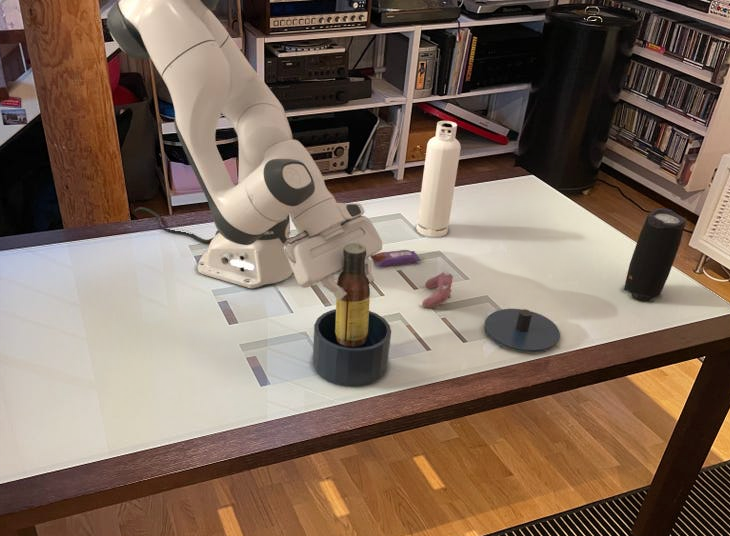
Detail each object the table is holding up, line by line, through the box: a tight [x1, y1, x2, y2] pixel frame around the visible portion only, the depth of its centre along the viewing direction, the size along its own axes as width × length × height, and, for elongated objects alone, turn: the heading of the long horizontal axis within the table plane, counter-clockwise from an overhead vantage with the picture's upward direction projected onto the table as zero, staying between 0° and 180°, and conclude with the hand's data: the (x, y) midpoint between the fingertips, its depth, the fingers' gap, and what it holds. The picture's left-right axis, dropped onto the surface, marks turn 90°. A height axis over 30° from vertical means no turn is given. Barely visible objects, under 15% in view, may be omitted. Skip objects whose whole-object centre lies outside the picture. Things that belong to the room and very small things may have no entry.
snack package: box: [369, 249, 422, 268], centre depth 184 cm, size 12×2×5 cm
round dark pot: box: [312, 308, 392, 388], centre depth 148 cm, size 15×15×8 cm
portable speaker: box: [623, 207, 687, 302], centre depth 170 cm, size 9×9×20 cm
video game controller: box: [422, 271, 454, 309], centre depth 170 cm, size 10×5×7 cm, turn 168°
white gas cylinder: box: [415, 120, 462, 238], centre depth 191 cm, size 8×8×28 cm
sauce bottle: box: [335, 243, 371, 347], centre depth 141 cm, size 6×6×20 cm
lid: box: [483, 308, 561, 353], centre depth 160 cm, size 16×16×5 cm
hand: (356, 290), depth 140 cm, fingers closed on sauce bottle, 6 cm apart
